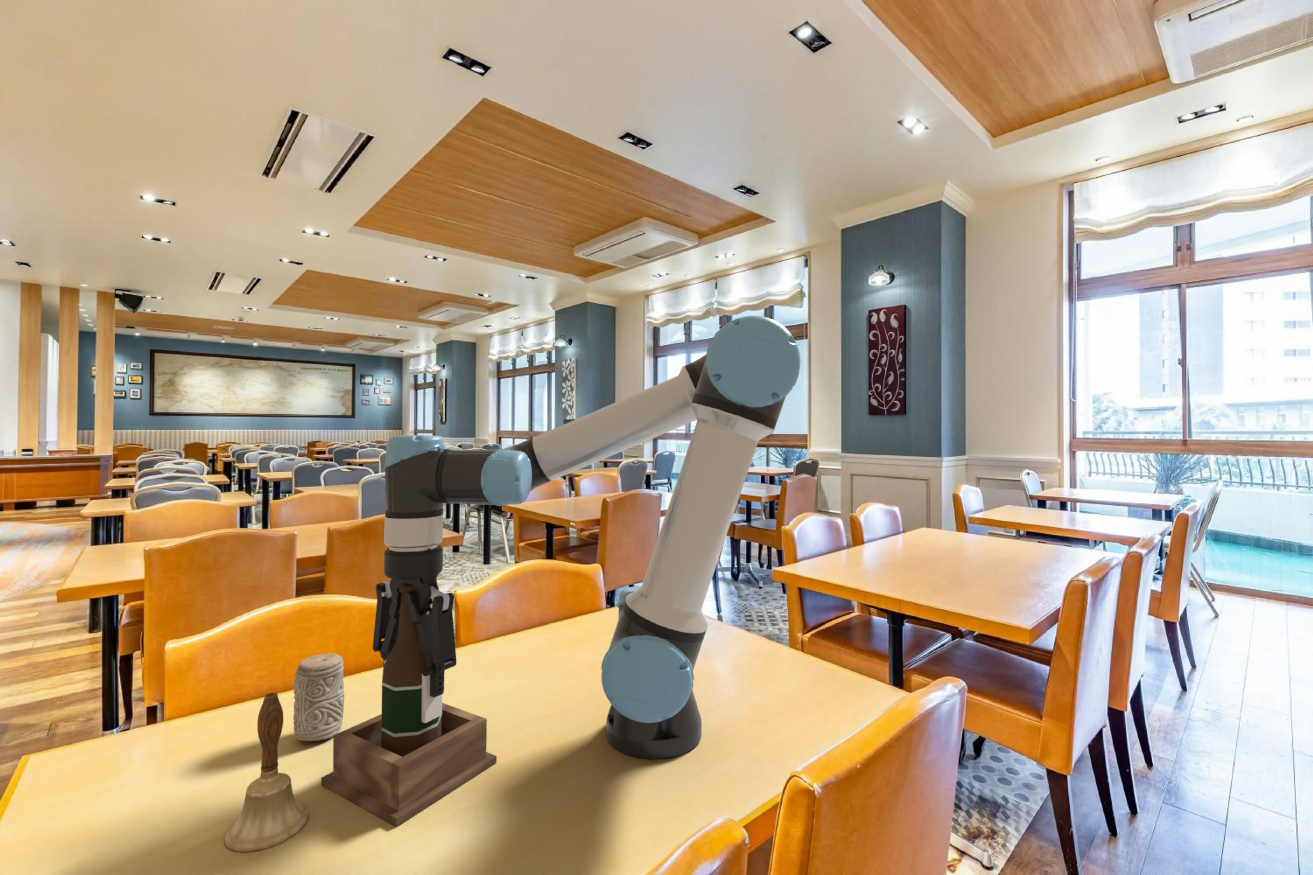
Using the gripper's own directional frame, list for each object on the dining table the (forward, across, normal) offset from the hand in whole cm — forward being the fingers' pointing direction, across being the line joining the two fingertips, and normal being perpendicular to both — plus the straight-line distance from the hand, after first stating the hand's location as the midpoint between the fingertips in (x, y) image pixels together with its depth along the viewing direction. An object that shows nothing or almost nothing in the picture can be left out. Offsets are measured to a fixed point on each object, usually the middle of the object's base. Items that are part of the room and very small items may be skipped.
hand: (412, 710), depth 80 cm
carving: (+9, +21, +1) cm, 23 cm away
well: (+9, 0, 0) cm, 9 cm away
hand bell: (+9, +5, +16) cm, 19 cm away
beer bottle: (+6, 0, 0) cm, 6 cm away
